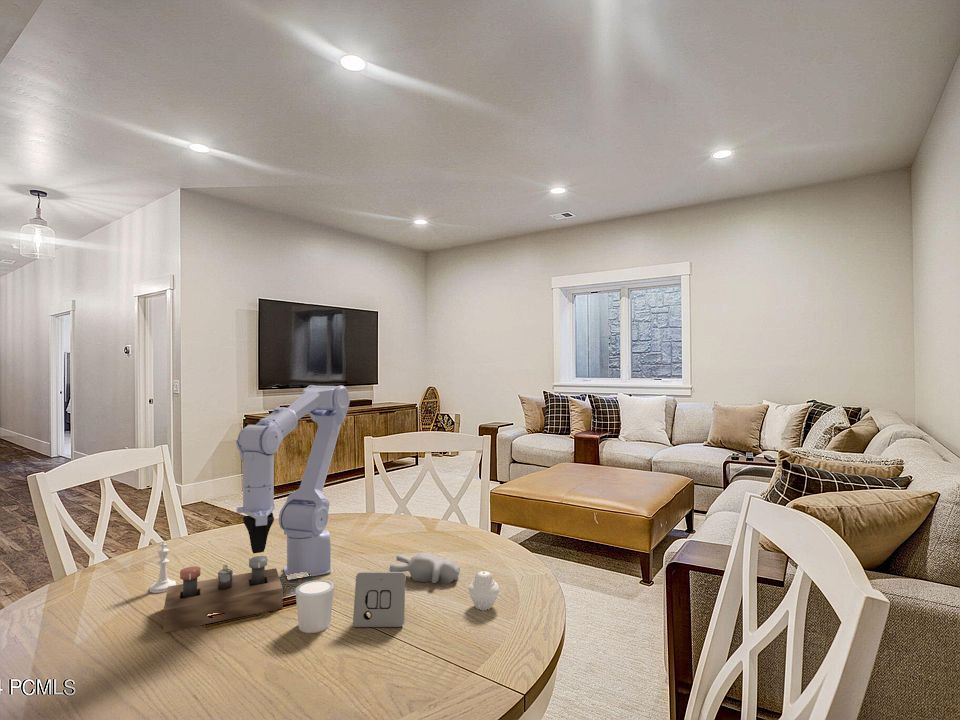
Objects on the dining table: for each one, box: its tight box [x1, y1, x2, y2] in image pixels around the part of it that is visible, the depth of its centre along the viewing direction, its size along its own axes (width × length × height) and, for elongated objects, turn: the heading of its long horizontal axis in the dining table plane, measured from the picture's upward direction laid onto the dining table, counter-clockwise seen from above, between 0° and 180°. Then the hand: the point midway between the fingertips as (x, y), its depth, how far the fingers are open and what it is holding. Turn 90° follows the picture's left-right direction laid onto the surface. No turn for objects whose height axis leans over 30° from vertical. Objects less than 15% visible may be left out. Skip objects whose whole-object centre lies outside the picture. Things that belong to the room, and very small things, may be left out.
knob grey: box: [248, 555, 268, 586], centre depth 104 cm, size 3×4×5 cm
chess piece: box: [149, 540, 177, 594], centre depth 111 cm, size 5×5×10 cm
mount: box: [162, 568, 284, 634], centre depth 102 cm, size 20×11×4 cm, turn 118°
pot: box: [217, 564, 233, 590], centre depth 102 cm, size 3×3×4 cm
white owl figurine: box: [467, 570, 500, 611], centre depth 102 cm, size 6×6×7 cm
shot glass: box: [294, 579, 335, 634], centre depth 95 cm, size 7×7×7 cm
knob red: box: [179, 566, 201, 598], centre depth 99 cm, size 3×4×5 cm
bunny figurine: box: [388, 551, 461, 584], centre depth 116 cm, size 10×5×15 cm
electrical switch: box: [352, 571, 407, 628], centre depth 97 cm, size 9×5×9 cm, turn 90°
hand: (258, 551), depth 105 cm, fingers closed
